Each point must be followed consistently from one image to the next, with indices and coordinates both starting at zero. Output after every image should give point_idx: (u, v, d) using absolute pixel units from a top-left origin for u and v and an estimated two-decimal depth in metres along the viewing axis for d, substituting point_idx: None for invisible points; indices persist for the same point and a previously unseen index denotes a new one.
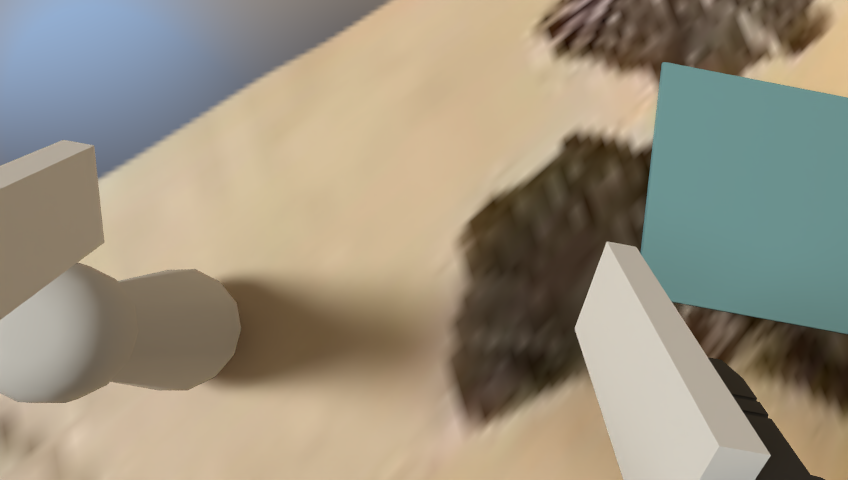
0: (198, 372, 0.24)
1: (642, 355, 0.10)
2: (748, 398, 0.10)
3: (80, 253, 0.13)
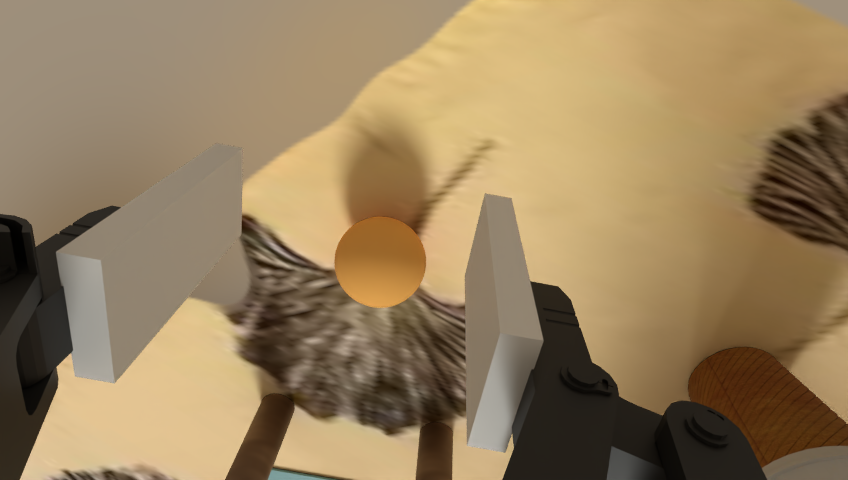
0: None
1: (485, 280, 0.12)
2: (567, 313, 0.11)
3: (228, 243, 0.15)
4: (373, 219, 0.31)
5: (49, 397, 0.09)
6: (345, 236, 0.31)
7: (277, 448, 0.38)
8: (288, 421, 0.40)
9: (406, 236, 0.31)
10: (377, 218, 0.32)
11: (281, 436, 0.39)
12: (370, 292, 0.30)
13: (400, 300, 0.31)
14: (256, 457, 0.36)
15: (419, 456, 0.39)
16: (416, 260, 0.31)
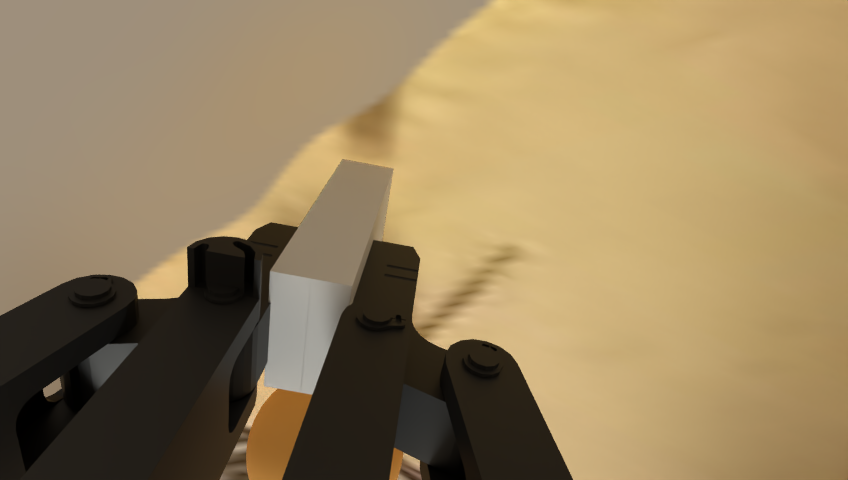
0: None
1: None
2: (410, 270, 0.12)
3: None
4: None
5: (247, 414, 0.10)
6: (262, 415, 0.18)
7: None
8: None
9: None
10: None
11: None
12: None
13: None
14: None
15: None
16: None
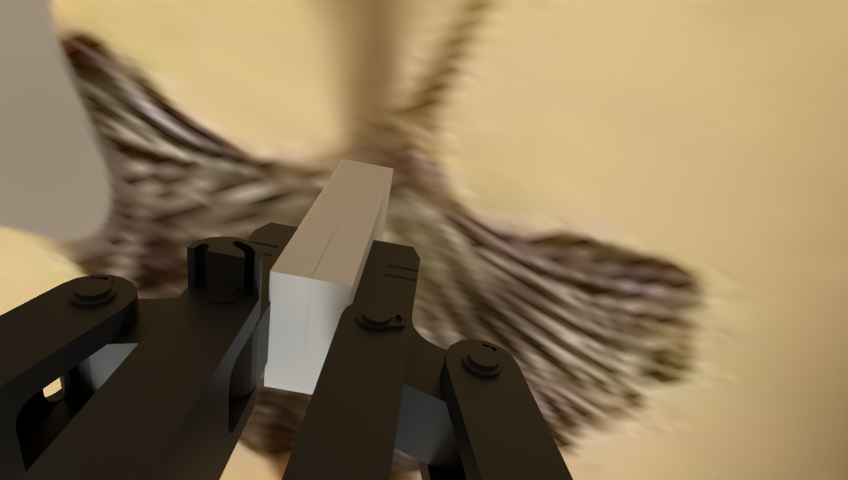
0: None
1: None
2: (410, 269, 0.12)
3: None
4: None
5: (247, 414, 0.10)
6: None
7: None
8: None
9: None
10: None
11: None
12: None
13: None
14: None
15: None
16: None
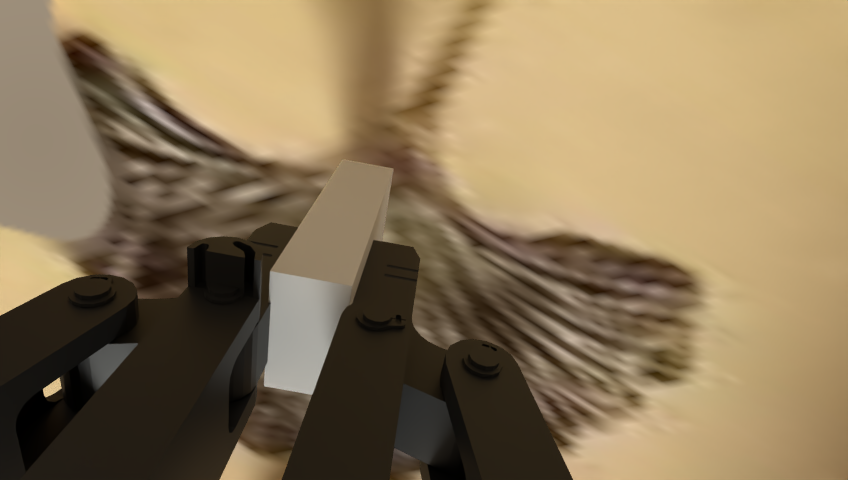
0: None
1: None
2: (410, 269, 0.12)
3: None
4: None
5: (247, 414, 0.10)
6: None
7: None
8: None
9: None
10: None
11: None
12: None
13: None
14: None
15: None
16: None
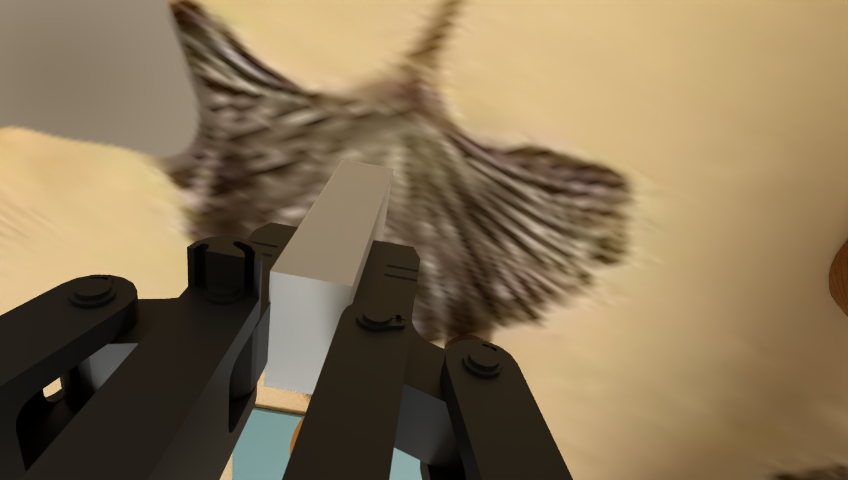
0: None
1: None
2: (410, 269, 0.12)
3: None
4: None
5: (247, 414, 0.10)
6: None
7: None
8: None
9: None
10: None
11: None
12: None
13: None
14: None
15: None
16: None
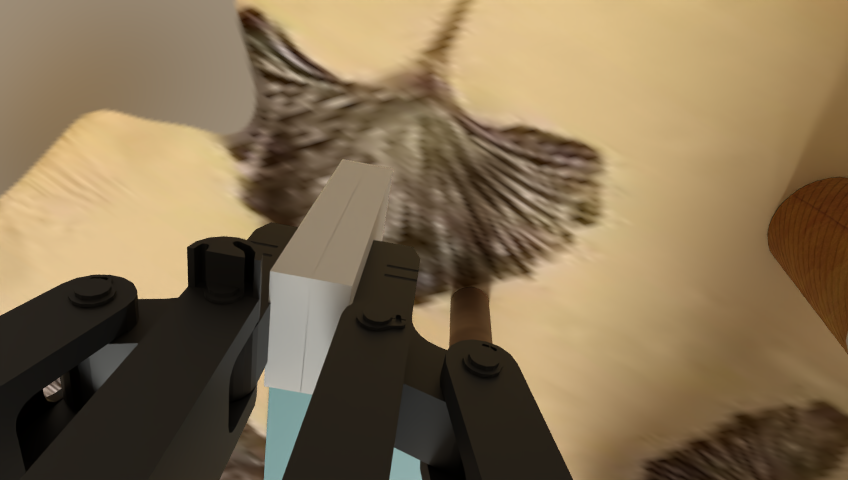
0: None
1: None
2: (410, 270, 0.12)
3: None
4: None
5: (247, 414, 0.10)
6: None
7: None
8: None
9: None
10: None
11: None
12: None
13: None
14: None
15: (452, 318, 0.34)
16: None
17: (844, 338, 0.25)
